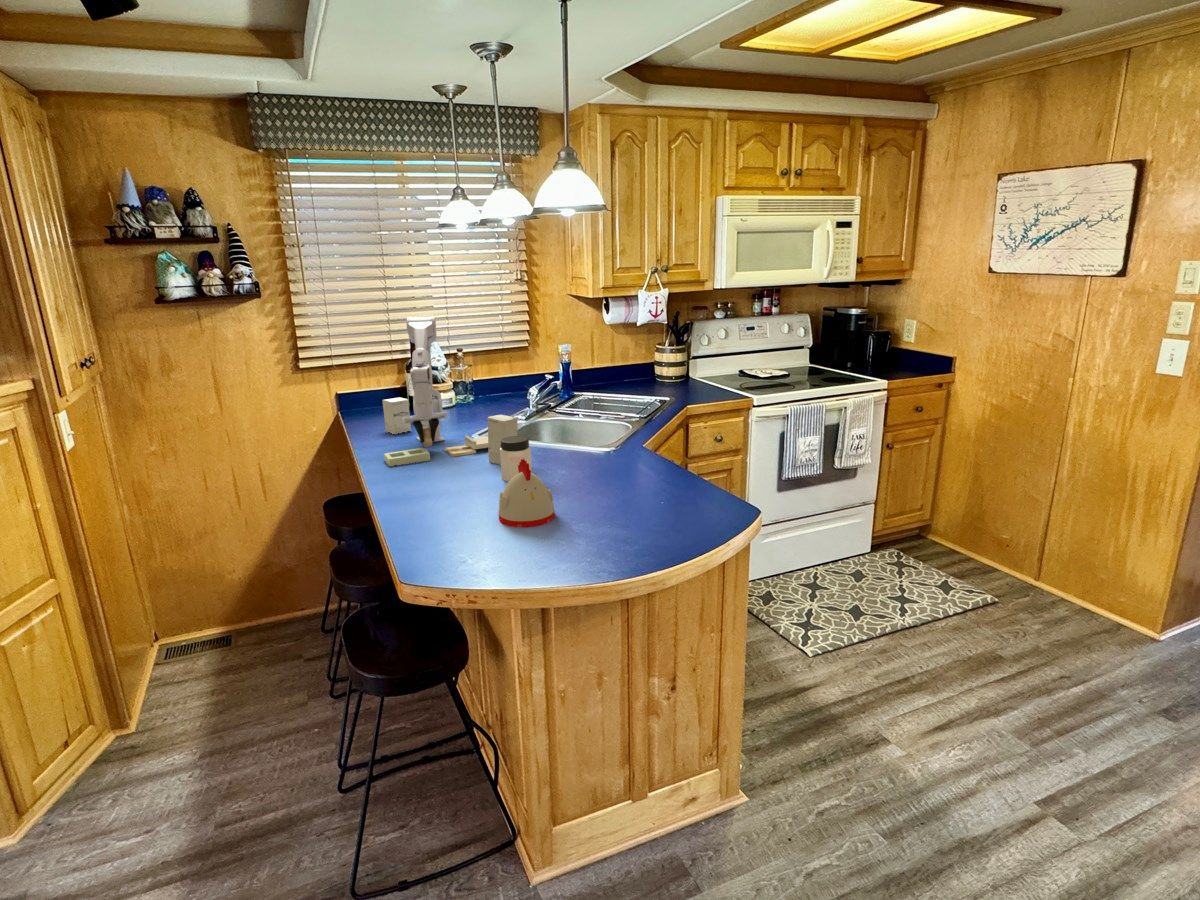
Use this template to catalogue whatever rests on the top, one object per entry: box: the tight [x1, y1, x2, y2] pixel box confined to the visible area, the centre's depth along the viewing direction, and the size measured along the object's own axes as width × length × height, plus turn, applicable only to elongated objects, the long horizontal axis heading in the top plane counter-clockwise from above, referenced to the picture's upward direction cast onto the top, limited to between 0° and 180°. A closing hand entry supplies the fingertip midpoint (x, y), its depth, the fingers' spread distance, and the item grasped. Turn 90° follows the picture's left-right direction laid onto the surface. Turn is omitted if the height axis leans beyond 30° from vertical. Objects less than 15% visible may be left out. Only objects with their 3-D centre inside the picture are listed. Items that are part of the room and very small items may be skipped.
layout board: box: [444, 444, 477, 458], centre depth 235 cm, size 9×8×1 cm
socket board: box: [383, 447, 431, 467], centre depth 227 cm, size 8×13×2 cm, turn 119°
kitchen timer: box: [498, 459, 555, 529], centre depth 172 cm, size 14×14×15 cm
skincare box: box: [487, 414, 519, 466], centre depth 220 cm, size 8×6×15 cm
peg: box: [422, 427, 433, 448], centre depth 236 cm, size 3×3×6 cm
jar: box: [500, 435, 533, 483], centre depth 204 cm, size 9×8×12 cm
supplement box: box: [382, 396, 412, 435], centre depth 264 cm, size 7×7×13 cm
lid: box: [464, 435, 488, 450], centre depth 238 cm, size 9×8×3 cm
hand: (427, 441), depth 237 cm, fingers closed on peg, 3 cm apart
